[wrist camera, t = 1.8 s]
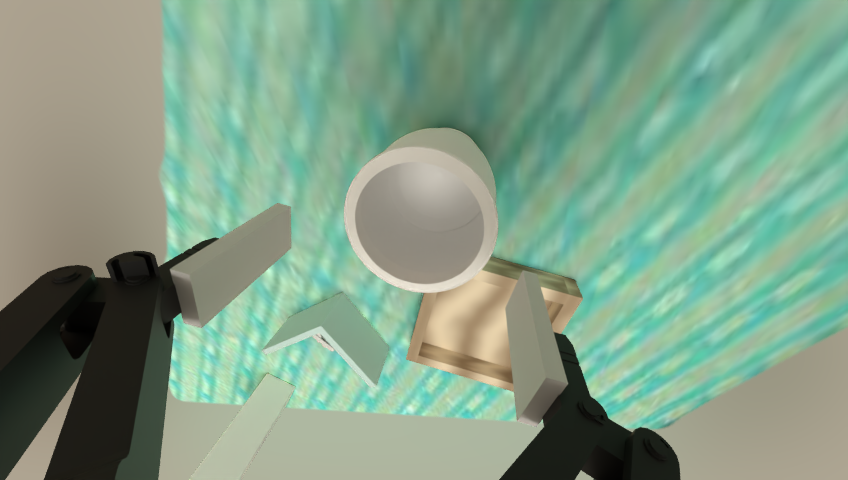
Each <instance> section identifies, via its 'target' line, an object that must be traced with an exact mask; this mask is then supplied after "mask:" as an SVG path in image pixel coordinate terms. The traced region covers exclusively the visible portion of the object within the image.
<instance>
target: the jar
mask: <svg viewBox="0 0 848 480" xmlns="http://www.w3.org/2000/svg"><path fill="white" fill-rule="evenodd" d="M344 222H345V228H346V232H347V235H348V238H349V241H350V243H351V245H352V247H353V249H354V251H355V253H356V254H357V256H358V257H359V259H360V260H361V261H362V262H363V264H364V265H365V266H366V267H367V268H368V269H369V270H370V271H371V272H373V273H374V274H375V275H376V276H378V277H379V278H381V279H382V280H384V281H386V282H387V283H389V284H391V285H393V286H396V287H398V288H401V289H404V290H408V291H413V292H420V293H435V292H442V291H447V290H450V289H453V288H456V287H458V286H461V285H463V284H464V283H466V282H468V281H469V280H471V279H472V278H473V277H475V276H476V275H477V274H478V273H479V272H480V271H481V270H482V269H483V267H484V266H485V265H486V263H487V262H488V260H489V259H490V257H491V255H492V253H493V250H494V248H495V244H496V240H497V234H498V214H497V208H496V186H495V180H494V176H493V172H492V170H491V167H490V165H489V163H488V161H487V159H486V157H485V156H484V154H483V153H482V151H481V150H480V149H479V148H478V147H477V145H476V144H475V142H474V141H473V140H472V139H471V138H470V137H469V136H468V135H466V134H465V133H463V132H461V131H459V130H456V129H452V128H427V129H421V130H417V131H414V132H411V133H409V134H407V135H405V136H403V137H401V138H399V139H398V140H396V141H395V142H393V143H392V144H391V145H390V146H389V147H388V148H387V149H386V150H385V151H384V152H382V153H380V154H378V155H377V156H375V157H374V158H372V159H371V160H370V161H369V162H368V163H367V164H365V165H364V167H363V168H362V169H361V170H360V171H359V172H358V174H357V175H356V176H355V178H354V179H353V181H352V183H351V185H350V187H349V190H348V192H347V196H346V200H345V206H344Z"/></svg>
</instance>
